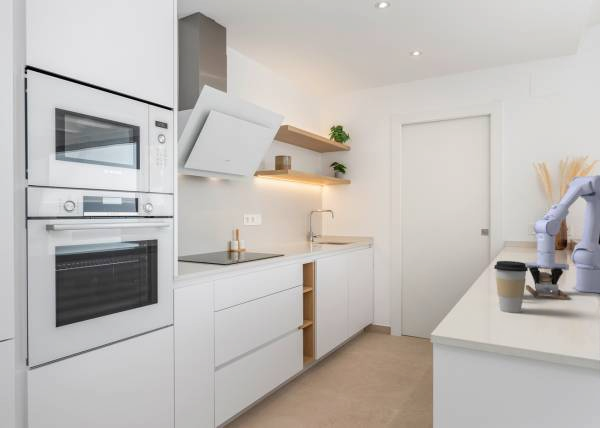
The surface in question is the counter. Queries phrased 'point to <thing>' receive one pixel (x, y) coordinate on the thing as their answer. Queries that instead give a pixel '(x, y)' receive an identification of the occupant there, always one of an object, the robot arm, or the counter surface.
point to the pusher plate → (547, 289)
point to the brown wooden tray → (561, 296)
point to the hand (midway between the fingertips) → (545, 288)
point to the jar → (545, 278)
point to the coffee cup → (510, 285)
